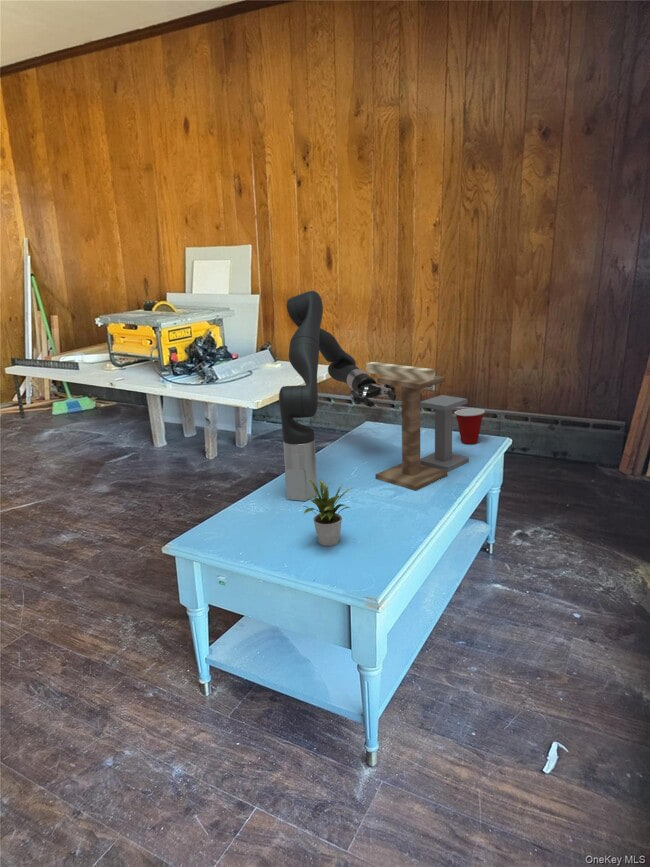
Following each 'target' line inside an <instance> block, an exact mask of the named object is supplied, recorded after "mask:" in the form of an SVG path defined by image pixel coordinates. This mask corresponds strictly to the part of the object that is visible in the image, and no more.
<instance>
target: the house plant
mask: <svg viewBox="0 0 650 867" xmlns="http://www.w3.org/2000/svg"><path fill="white" fill-rule="evenodd" d="M306 479H307V478H306ZM308 480H309V481H310V482H311V484H312V485H313V487H314V490H315V492H316V494H317V497H314V498H312V497H311V499H310V502H311V503H313V504H315V506H316V507H317V508H318V509H316V508H314V507H311V508H310V507H308V506H306V505H303V508H304V507H305V508H306V509H305V510H304V512H303V515H305V514H307V513H308V512H313V513H314V514H316V512H315V511H314V510H316V511H317V512H319V513H317V514H316V515H314V517H313V518H312V519H313V524H314V528H315V532H316V536H317V540H318V544H319V545H322V546H325V547H330V546H332V547H333V546H335V545H337V544H339V542H340V536H341V530H342V520H343V517H342V515H341V514H340V512H342V511H343V510H345V509H351V507H350V506H347V505H346V504H344V503H343V504H341V503H340V504H337V503H338V501H340V499H341V498H342V497H343V496H344V495H345V494H346V493H347V492H349V491H350V490H353V489H354V487H349V488H348V489H346V490H345V491H344V492H343V493H342V494H341V495H339V494H340V491H341V489H342V486H343V483H341V485H340V486H339V488H338V489H337V492H336V494H335V495H334V496H332V497H330V495H329V485H330V483H331V481H329V482H328V485H327V484H326V483H325V481H322V479H319V486H320V487H319V489H320V490H319V489H318V486H317V487H316V485H315V484H314V482H312V481H311V480H310V479H308ZM304 491H305V490H304ZM319 491H320V492H319ZM308 493H309V492H308ZM308 495H309V494H308ZM343 506H345V507H343ZM340 507H343V508H341V509H340V510H339V508H340ZM338 510H339V511H338ZM337 511H338V513H336V512H337Z"/></svg>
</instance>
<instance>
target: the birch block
mask: <svg viewBox="0 0 650 867" xmlns="http://www.w3.org/2000/svg"><path fill="white" fill-rule="evenodd" d="M365 365H366V373H367V374H373V375H381V376H394V377H402V378H409V379H416V380H423V381H430V380H434V376H435V369H434V368H426V367H419V366H410V365H402V364H395V363H393V364H392V363H386V362H385V363H384V362H378V361H377V362H376V361H370V362H366V364H365Z"/></svg>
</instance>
